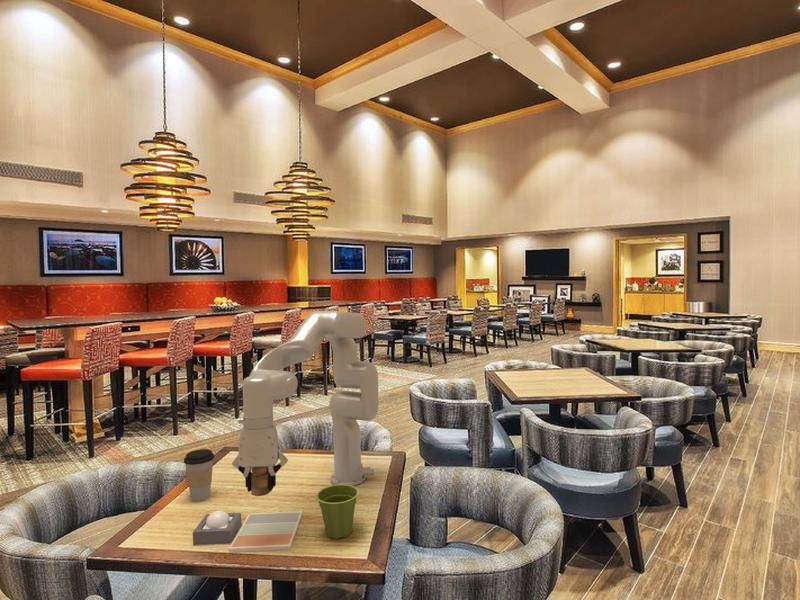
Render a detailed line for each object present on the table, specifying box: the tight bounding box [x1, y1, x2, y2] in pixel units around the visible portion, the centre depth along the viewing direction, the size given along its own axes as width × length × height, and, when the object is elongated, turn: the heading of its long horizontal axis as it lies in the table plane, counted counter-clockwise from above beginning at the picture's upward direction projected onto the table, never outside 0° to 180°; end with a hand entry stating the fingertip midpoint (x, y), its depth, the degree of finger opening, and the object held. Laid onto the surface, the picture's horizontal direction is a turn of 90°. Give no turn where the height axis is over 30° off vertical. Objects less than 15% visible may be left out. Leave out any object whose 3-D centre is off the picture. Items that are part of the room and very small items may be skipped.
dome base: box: [192, 512, 243, 546], centre depth 133 cm, size 10×10×4 cm
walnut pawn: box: [250, 467, 272, 497], centre depth 127 cm, size 5×5×8 cm
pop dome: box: [203, 510, 233, 529], centre depth 133 cm, size 6×6×6 cm
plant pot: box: [315, 484, 360, 540], centre depth 132 cm, size 12×12×11 cm
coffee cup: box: [183, 448, 215, 503], centre depth 156 cm, size 9×9×15 cm
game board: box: [228, 510, 304, 553], centre depth 133 cm, size 16×19×1 cm
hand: (261, 488), depth 127 cm, fingers closed on walnut pawn, 4 cm apart
